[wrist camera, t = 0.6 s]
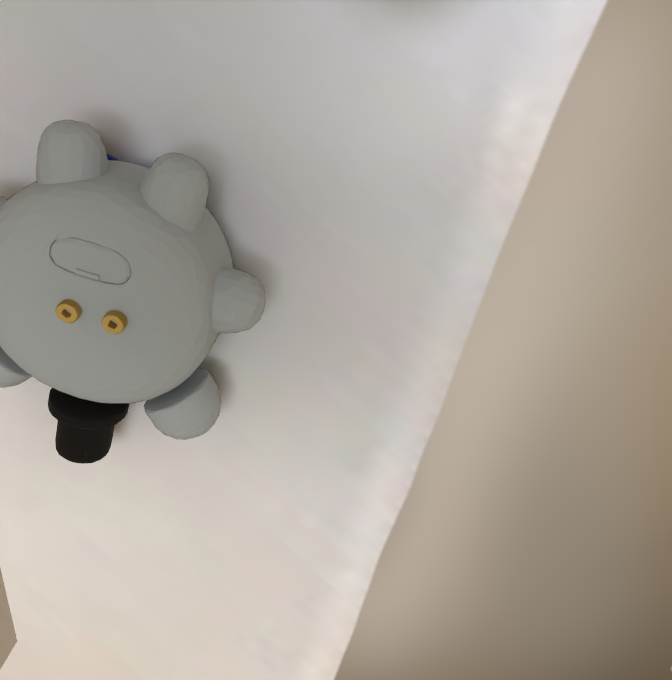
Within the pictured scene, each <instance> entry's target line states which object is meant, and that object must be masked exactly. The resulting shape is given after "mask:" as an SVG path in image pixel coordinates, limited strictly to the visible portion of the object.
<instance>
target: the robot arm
mask: <svg viewBox="0 0 672 680" xmlns="http://www.w3.org/2000/svg"><path fill="white" fill-rule="evenodd" d="M16 642H17V639H16V634H15V630H14V626H13V621H12V617H11V613H10V608H9V604H8V600H7V595H6V591H5V587H4V582H3V578H2V574H1V569H0V669H1V667H2V665H3V664H4V662H5V660H6V659H7V657H8V655H9V654H10V652H11V650H12V649H13V647H14V645H15V644H16ZM671 671H672V667H671Z"/></svg>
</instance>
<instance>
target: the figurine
mask: <svg viewBox="0 0 672 680" xmlns="http://www.w3.org/2000/svg"><path fill="white" fill-rule="evenodd" d="M36 177H37V181H36V182H34V183H32V184H30V185H28V186H27V187H25V188H23V189H21V190H20V191H19V192H18V193H16V194H15V195H14V196H13V197H12V198H10V199H9V200H8V199H5V198H3V197H1V196H0V387H9V386H14V385H18V384H20V383H22V382H24V381H25V380H27V379H29V378H30V377H32V376H33V377H35V378H36V379H37V380H39V381H40V382H42V383H44V384H46V385H48V386H50V387H52V389H51V390H50V394H49V400H48V407H49V411H50V413H51V414H52V416H54V417H55V418H56V419H58V424H57V432H56V450H57V452H58V453H59V455H61V456H62V457H64V458H65V459H67V460H69V461H71V462H76V463H93V462H95V461H98V460H100V459H102V458H103V457H104V456H106V454H107V453H108V452H109V449H110V447H111V442H112V436H113V430H114V425H115V424H117V423H118V422H120V421H121V420H122V419H123V418H124V417H125V416H126V414H127V412H128V407H129V403H134V402H139V401H145V400H147V401H146V403H145V405H144V408H145V412H146V414H147V415H148V416H149V418H150V419H151V421H152V422H153V424H154V425H155V427H156V428H157V429H158V430H160V431H161V432H162V433H163V434H165V435H167V436H170V437H173V438H175V439H183V440H186V439H190V438H194V437H198V436H200V435H202V434H204V433H206V432H207V431H208V430H209V429H210V428H211V427H212V426H213V425H214V423H215V422H216V420H217V418H218V416H219V411H220V404H221V399H220V394H219V390H218V387H217V385H216V384H215V382H214V380H213V379H212V377H211V375H210V374H209V372H208V371H207V370H205V369H200V368H198V366H199V365H200V364H201V363H202V362H203V360H204V359H205V358H206V356H207V355H208V353H209V351H210V350H211V348H212V346H213V344H214V342H215V340H216V338H217V336H218V334H219V333H236V332H240V331H244V330H248V329H250V328H251V327H252V326H253V325H255V324H256V323H257V322H258V321H259V320H260V318H261V316H262V314H263V311H264V307H265V293H264V289H263V287H262V286H261V284H260V282H259V280H257V279H256V278H254V277H253V276H251V275H250V274H248V273H245V272H242V271H240V270H237V269H233V263H232V258H231V254H230V250H229V247H228V244H227V241H226V239H225V236H224V234H223V232H222V230H221V228H220V226H219V225H218V223H217V221H216V220H215V219H214V217H213V216H212V214H211V213H210V212H209V210H208V209H207V208H206V207H205V206H206V202H207V197H208V192H209V185H208V177H207V174H206V171H205V169H204V168H203V167H202V165H201V164H199V163H198V162H197V161H196V160H194V159H192V158H189V157H187V156H185V155H182V154H177V153H169V154H165V155H163V156H161V157H159V158H158V159H157V160H156V161H155V163H154V164H153V165H152V167H151V168H150V169H149V168H146V167H143V166H141V165H137V164H133V163H129V162H123V161H118V160H117V159H116V158H114V157H112V156H110V155H108V154H106V150H105V147H104V144H103V142H102V139H101V137H100V134H99V132H98V131H96V130H95V129H94V128H93V127H92V126H90V125H89V124H86V123H82V122H78V121H74V120H62V121H57V122H54V123H52V124H51V125H49V126H48V127H47V128H45V130H44V132H43V134H42V136H41V139H40V142H39V146H38V153H37V165H36ZM197 368H198V369H197Z"/></svg>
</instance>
